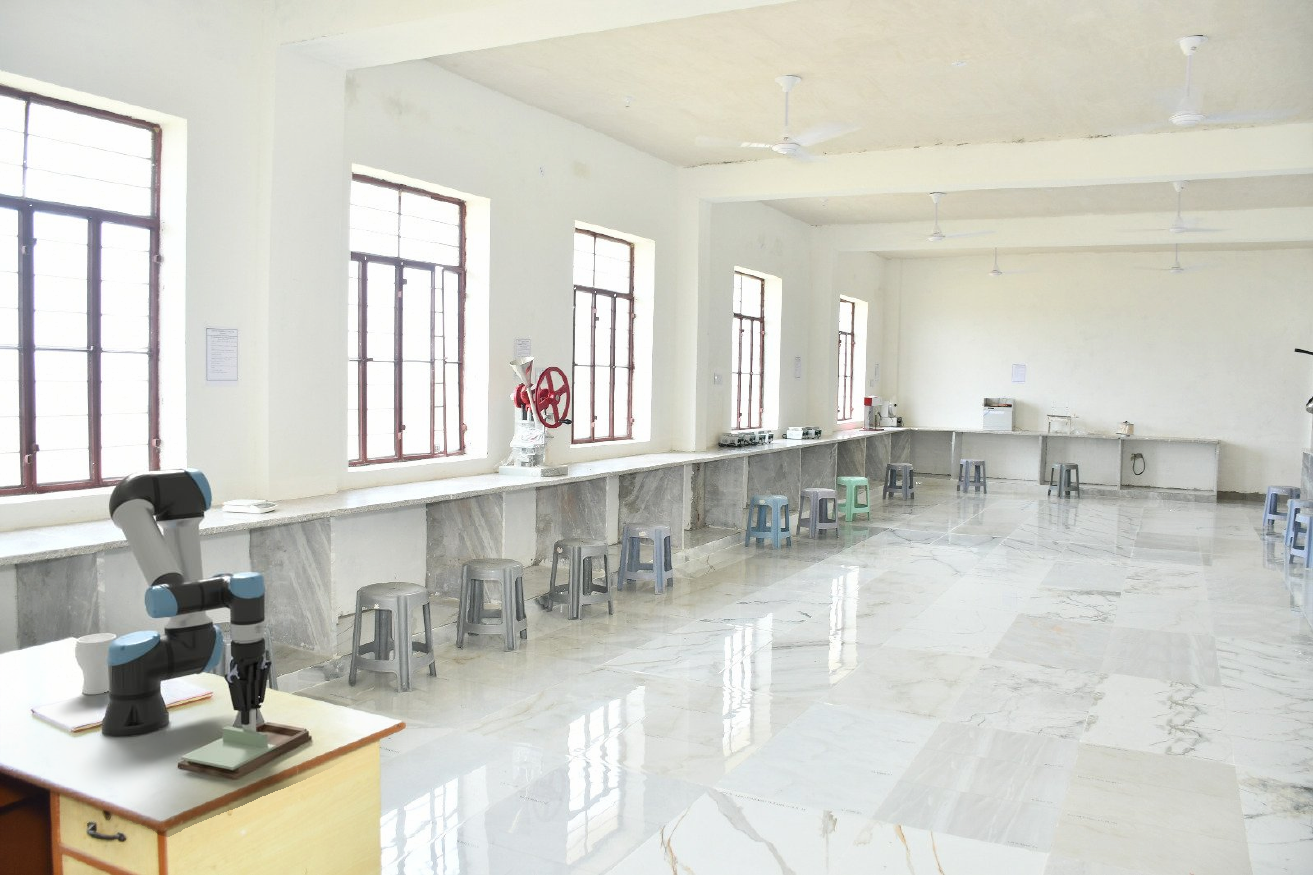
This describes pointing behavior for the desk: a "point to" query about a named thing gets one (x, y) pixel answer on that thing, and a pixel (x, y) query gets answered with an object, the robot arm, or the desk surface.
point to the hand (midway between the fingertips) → (249, 736)
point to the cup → (94, 661)
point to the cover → (232, 749)
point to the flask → (238, 724)
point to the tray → (277, 735)
